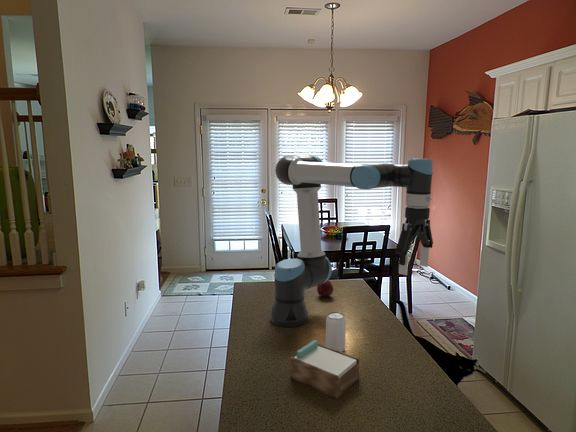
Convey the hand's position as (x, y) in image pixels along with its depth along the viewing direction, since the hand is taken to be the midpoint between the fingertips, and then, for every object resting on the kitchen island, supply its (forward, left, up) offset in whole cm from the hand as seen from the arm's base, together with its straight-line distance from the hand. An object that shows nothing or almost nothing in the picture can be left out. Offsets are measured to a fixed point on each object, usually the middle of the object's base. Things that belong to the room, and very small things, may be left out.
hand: (413, 270), depth 130 cm
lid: (-12, -35, -22) cm, 43 cm away
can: (-19, -18, -27) cm, 37 cm away
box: (-12, -35, -27) cm, 46 cm away
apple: (-49, +21, -27) cm, 60 cm away
